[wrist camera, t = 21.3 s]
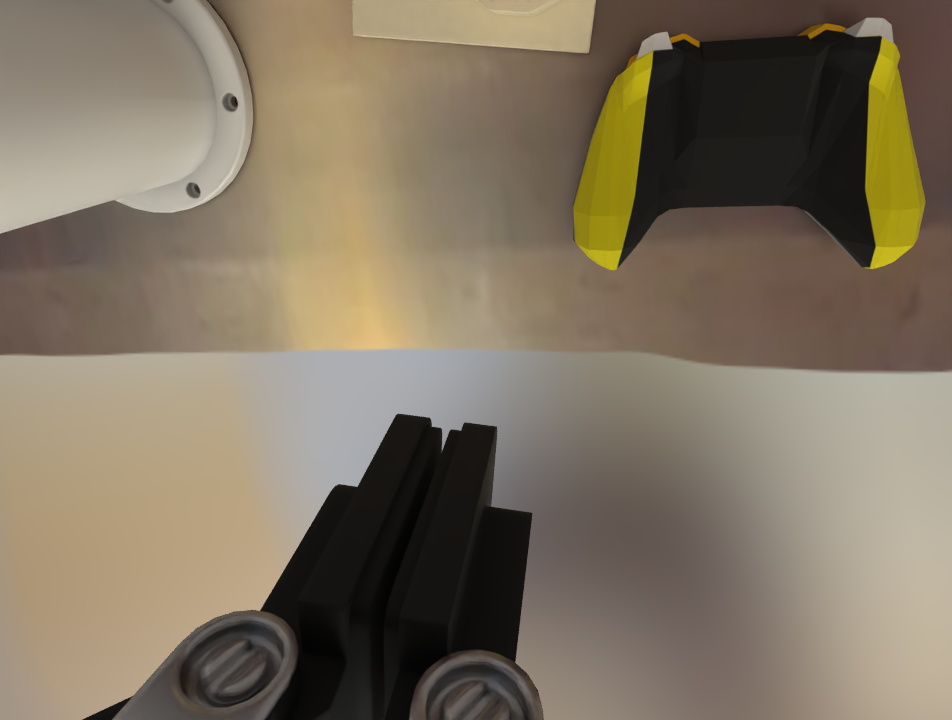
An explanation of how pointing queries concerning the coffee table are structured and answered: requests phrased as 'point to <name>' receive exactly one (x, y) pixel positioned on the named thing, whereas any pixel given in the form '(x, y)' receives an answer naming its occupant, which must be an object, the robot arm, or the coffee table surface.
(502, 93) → the coffee table surface
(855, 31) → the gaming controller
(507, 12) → the push button box
